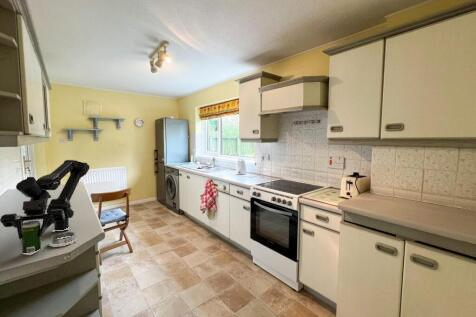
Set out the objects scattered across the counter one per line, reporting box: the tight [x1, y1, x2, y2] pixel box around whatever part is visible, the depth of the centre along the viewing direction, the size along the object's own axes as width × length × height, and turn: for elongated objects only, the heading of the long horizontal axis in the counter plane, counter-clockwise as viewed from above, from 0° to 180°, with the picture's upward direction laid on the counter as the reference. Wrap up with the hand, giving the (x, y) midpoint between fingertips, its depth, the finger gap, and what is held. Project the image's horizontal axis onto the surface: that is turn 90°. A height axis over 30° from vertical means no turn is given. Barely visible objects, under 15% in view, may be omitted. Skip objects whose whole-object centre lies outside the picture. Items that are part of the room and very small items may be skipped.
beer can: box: [21, 220, 42, 253], centre depth 85 cm, size 5×5×12 cm
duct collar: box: [50, 231, 77, 244], centre depth 95 cm, size 10×10×3 cm
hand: (30, 237), depth 84 cm, fingers closed on beer can, 5 cm apart
